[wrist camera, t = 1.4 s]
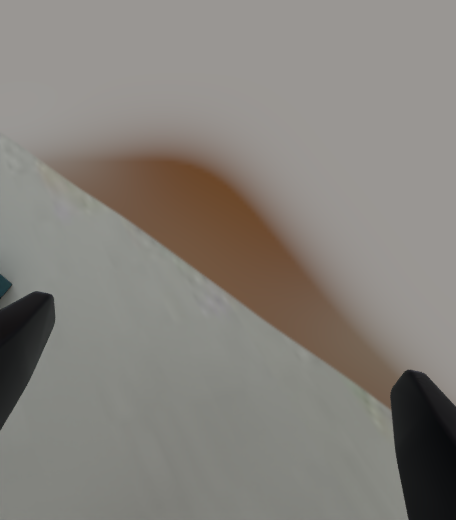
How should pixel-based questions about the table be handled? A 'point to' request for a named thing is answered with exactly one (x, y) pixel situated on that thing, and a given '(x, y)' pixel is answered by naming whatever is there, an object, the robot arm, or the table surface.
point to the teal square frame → (4, 285)
